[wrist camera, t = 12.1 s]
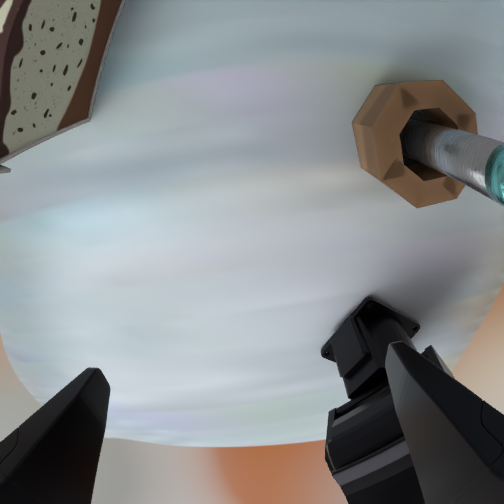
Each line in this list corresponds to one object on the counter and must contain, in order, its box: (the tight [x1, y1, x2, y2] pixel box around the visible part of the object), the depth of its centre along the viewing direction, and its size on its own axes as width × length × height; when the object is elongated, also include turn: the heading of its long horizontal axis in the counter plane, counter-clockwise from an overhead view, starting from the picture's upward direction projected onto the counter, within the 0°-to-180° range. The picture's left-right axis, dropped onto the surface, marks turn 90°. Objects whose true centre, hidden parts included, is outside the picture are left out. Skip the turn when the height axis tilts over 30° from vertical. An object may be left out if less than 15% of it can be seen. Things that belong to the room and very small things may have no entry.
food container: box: [0, 0, 126, 173], centre depth 11 cm, size 12×6×10 cm, turn 162°
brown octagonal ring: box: [352, 80, 478, 208], centre depth 17 cm, size 7×7×4 cm
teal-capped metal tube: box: [399, 119, 504, 206], centre depth 13 cm, size 2×2×11 cm
